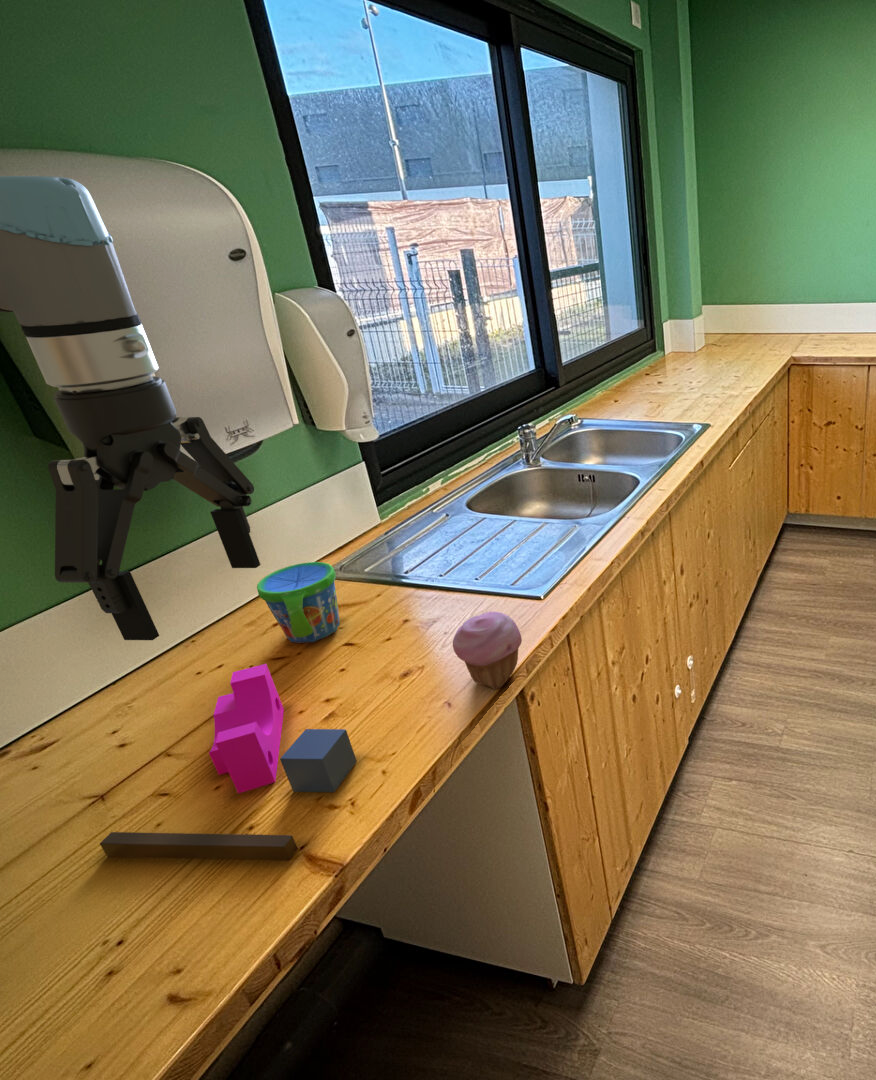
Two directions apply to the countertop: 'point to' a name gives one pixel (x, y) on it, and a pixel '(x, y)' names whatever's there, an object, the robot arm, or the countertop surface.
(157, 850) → the straightedge
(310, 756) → the cube
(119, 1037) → the countertop surface
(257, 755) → the toy block
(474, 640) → the cupcake
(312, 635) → the snack cup
